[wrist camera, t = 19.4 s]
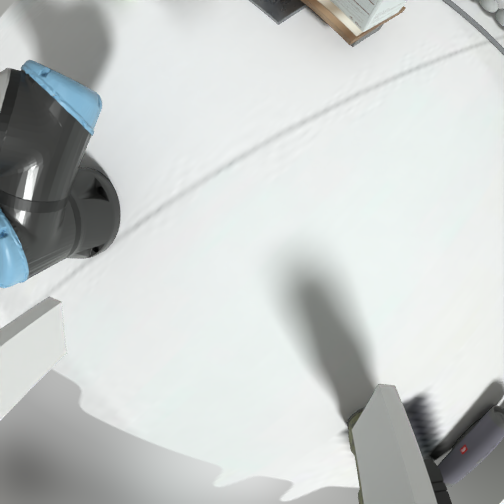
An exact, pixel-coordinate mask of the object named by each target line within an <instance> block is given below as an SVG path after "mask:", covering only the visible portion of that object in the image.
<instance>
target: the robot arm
mask: <svg viewBox="0 0 504 504" xmlns="http://www.w3.org/2000/svg"><path fill="white" fill-rule="evenodd" d="M101 109H102V100H101V98H100V96H99V95H98V94H97V93H96V92H95V91H93V90H91V89H89V88H88V87H86V86H84V85H82V84H80V83H78V82H76V81H74V80H72V79H70V78H68V77H66V76H64V75H62V74H60V73H58V72H56V71H54V70H51V69H50V68H47V67H45V66H43V65H41V64H39V63H37V62H35V61H32V60H28V61H26V62H25V64H24V65H22V67H21V71H19V70H15V69H11V68H6V69H5V70H3V71H1V72H0V287H1V288H7V287H10V286H12V285H15V284H17V283H21V282H25V281H26V280H27V279H29V278H30V277H32V276H34V275H36V274H38V273H39V272H41V271H43V270H45V269H47V268H48V267H50V266H52V265H54V264H56V263H58V262H60V261H61V260H63V259H65V258H81V259H84V258H90V257H93V256H96V255H97V254H99V253H101V252H103V251H105V250H106V249H107V248H108V247H109V246H110V245H111V244H112V242H113V241H114V239H115V237H116V235H117V232H118V229H119V224H120V206H119V201H118V197H117V194H116V192H115V190H114V188H113V186H112V184H111V183H110V181H109V180H108V179H107V178H106V177H105V176H104V175H103V174H101V173H100V172H98V171H96V170H94V169H91V168H79V166H80V163H81V160H82V158H83V155H84V153H85V150H86V148H87V145H88V143H89V140H90V138H91V135H92V136H93V134H94V130H93V129H94V127H95V124H96V122H97V119H98V117H99V114H100V112H101ZM66 354H67V349H66V341H65V333H64V323H63V312H62V302H61V301H58V300H56V299H54V298H51V297H48V298H46V299H44V300H43V301H41V302H40V303H38V304H37V305H35V306H34V307H32V308H31V309H29V310H28V311H26V312H25V313H23V314H22V315H20V316H19V317H17V318H16V319H14V320H13V321H12V322H10V323H9V324H7V325H6V326H4V327H3V328H1V329H0V421H1V419H2V418H3V417H4V416H5V415H6V414H7V413H8V412H9V411H10V410H11V409H12V408H13V407H14V406H15V405H16V404H17V403H18V402H19V401H20V400H21V399H22V398H23V397H24V396H25V395H26V394H27V393H28V392H29V390H30V389H31V388H32V387H33V386H34V385H35V384H36V383H37V382H38V381H39V380H40V379H41V378H42V377H43V376H44V375H45V374H46V373H47V372H49V371H50V370H51V369H52V368H53V367H54V366H55V365H56V364H57V363H58V362H59V361H60V360H61V359H62V358H63V357H64V356H65V355H66ZM352 434H353V439H354V445H355V451H356V456H357V462H358V468H359V475H360V481H361V488H362V494H363V501H364V504H452V503H451V500H450V497H449V494H448V492H447V491H446V490H447V488H446V485H445V483H444V482H443V481H444V479H443V477H442V474H441V471H440V469H439V467H438V466H437V465H436V464H435V463H434V461H433V460H432V459H426V460H423V458H422V455H421V452H420V449H419V446H418V444H417V441H416V438H415V435H414V433H413V430H412V427H411V425H410V422H409V420H408V417H407V414H406V412H405V409H404V407H403V404H402V402H401V399H400V397H399V394H398V392H397V390H396V387H395V386H394V385H384V384H378V386H377V387H376V389H375V391H374V393H373V395H372V397H371V398H370V400H369V402H368V404H367V405H366V407H365V409H364V410H363V412H362V414H361V415H360V417H359V419H358V420H357V422H356V424H355V425H354V427H353V429H352Z"/></svg>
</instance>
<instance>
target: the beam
mask: <svg viewBox="0 0 504 504" xmlns="http://www.w3.org/2000/svg"><path fill="white" fill-rule="evenodd" d="M301 1H302V2H303V3H305V4H306V5H307V6H308V7H309V8H310V9H312V10H313V11H314V12H315V13H316V14H317V15H318V16H320V17H321V18H322V19H323V20H324V21H325V22H326V23H327V24H328V25H329V26H331V27H332V28H333V29H334V30H335V31H336V32H337V33H338V34H339V35H340V36H341V37H342V38H343V39H344V40H345V41H346V42H347V43H348V44H349V45H351V44H352V43H354V42H355V41H357V40H359V39H360V38H362V37H363V36H365V35H366V34H368V33H369V32H371V31H372V30H374V29H376V28H377V27H379V26H380V25H382V24H384V23H385V22H387V21H389V20H390V19H392V18H393V17H395V16H397V15H399V14H400V13H402V12H403V11H404V10H405V7H404V6H403V7H402V8H401V9H400V11H399V12H398V13H396V14H395V15H393V16H391V17H389V18H387V19H386V20H384V21H382V22H381V23H379V24H377V25H375V26H374V27H372V28H370V29H368V30H367V31H365V32H363V31H361V30H360V29H359V28H358V27H357V26H356V25H355V24H354V23H353V22H352V21H351V20H350V19H349V18H348V17H347V16H346V15H345V14H344V13H343V12H342V11H341V10H340V9H339V8H338V7H337V6H336V5H335V4H333V3H332V2H331V1H330V0H301Z"/></svg>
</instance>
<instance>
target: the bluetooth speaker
mask: <svg viewBox="0 0 504 504" xmlns="http://www.w3.org/2000/svg"><path fill="white" fill-rule="evenodd" d="M503 438H504V408H502V407H500V406H493V407H492V408H491V409H490V410H489V411H488V412H487V413H486V414H485V415H484V416H483V417H482V418H481V419H480V420H479V421H476V422H475V423H474V424H473V425H472V426H471V427H470V428H469V429H468V430H467V431H466V432H465V433H464V435H463V436H462V437H461V438H460V439H459V440H458V441H457V442H456V443H455V445H454V446H453V448H452V450H451V452H450V453H449V454H448V455H447V456H446V457H445V458H444V459H443V460H442V462H440V464H439V465H438V467H439V469H440V471H441V474H442V477H443V479H444V481H443V482H444V483H445V485H446V486H447V487H450V486H453V485H454V484H456V483H457V482H458V481H460V480H461V479H462V478H463V477H465V476H466V475H467V474H468V473H469V472H471V471H472V470H473V469H474V468H475V467H476V466H477V465H478V464H479V463H481V461H483V460H484V459H485V458H486V457H487V455H489V454H490V452H491V451H492V450H493V449H494V448H495V447H496V446H497V445H498V444H499V443H500V441H501V440H502V439H503Z"/></svg>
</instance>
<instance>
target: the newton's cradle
mask: <svg viewBox="0 0 504 504" xmlns="http://www.w3.org/2000/svg"><path fill="white" fill-rule="evenodd" d="M443 1H444V2H445V3H447V4H448V5H449V6H450V7H452V8H453V9H454V10H455V11H457V12H458V13H459V14H460V15H462V16H463V17H464V18H465V19H466V20H467V21H469V22H470V23H471V24H472V25H473V26H474V27H475V28H477V29H478V30H479V31H480V32H481V33H482V34H483V35H484V36H485V37H486V38H487V39H488V40H489V41H490V42H491V43H492V44H493V45H494V46H495V47H496V48H497V49H498V50H499V51H500V52H501V53H502V54H503V55H504V48H503V47H502V46H501V45H500V44H499V43H498V42H497V41H496V40H495V39H494V38H493V37H492V36H491V35H490V34H489V33H488V32H487V31H486V30H485V29H484V28H483V27H482V26H480V25H479V24H478V23H477V22H476V21H475V20H474V19H473V18H471V17H470V16H469V15H468V14H467V13H466V12H464V11H463V10H462V9H461V8H460V7H458V6H457V5H456V4H455V3H453V2H452V1H451V0H443ZM479 1H480V4H481V6H482V7H483V9H485V10H486V11H488V12H491V13H493V12H496V19H497V21H498V22H499V24H500V25H502V26H503V27H504V9H499V8H498V7H499V5H498V2H497V0H479Z"/></svg>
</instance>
